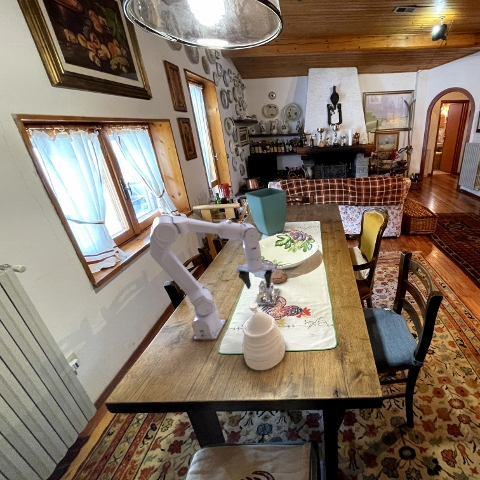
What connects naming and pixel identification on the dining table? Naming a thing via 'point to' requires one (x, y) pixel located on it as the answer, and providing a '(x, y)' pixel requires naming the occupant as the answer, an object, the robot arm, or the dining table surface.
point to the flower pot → (268, 209)
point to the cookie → (278, 276)
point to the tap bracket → (268, 295)
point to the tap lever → (262, 291)
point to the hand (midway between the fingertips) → (258, 287)
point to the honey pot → (262, 340)
